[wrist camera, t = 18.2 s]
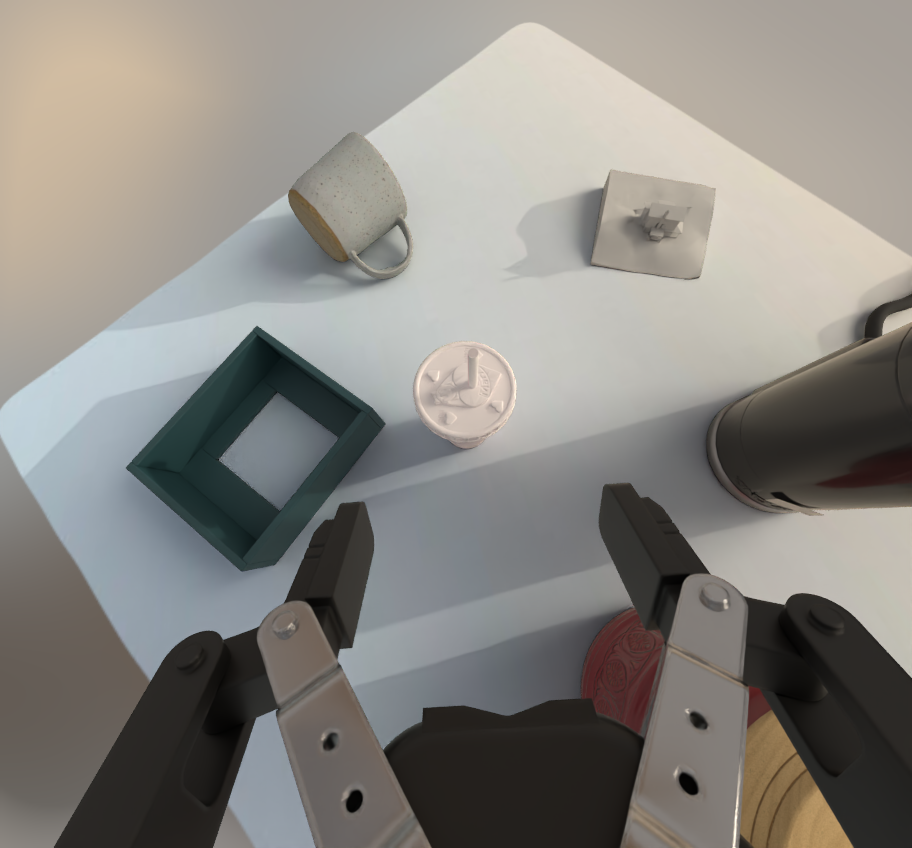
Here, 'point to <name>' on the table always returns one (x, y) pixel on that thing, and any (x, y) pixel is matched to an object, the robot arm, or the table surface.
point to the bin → (222, 420)
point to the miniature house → (653, 225)
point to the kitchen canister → (767, 745)
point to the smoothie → (464, 392)
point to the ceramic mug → (351, 203)
